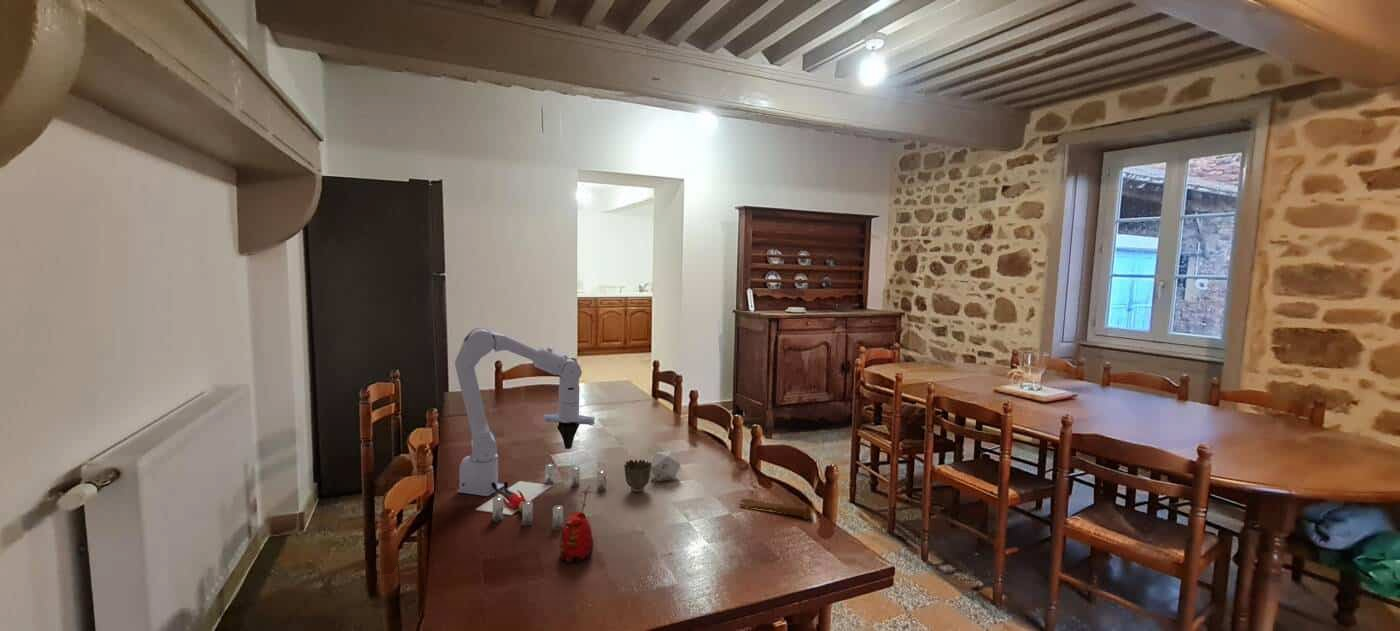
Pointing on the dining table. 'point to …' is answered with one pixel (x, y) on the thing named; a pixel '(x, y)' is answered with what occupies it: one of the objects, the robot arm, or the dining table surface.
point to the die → (665, 465)
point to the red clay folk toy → (576, 536)
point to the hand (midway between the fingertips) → (568, 447)
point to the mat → (526, 488)
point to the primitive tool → (777, 507)
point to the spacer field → (557, 510)
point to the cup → (637, 474)
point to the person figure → (510, 497)
